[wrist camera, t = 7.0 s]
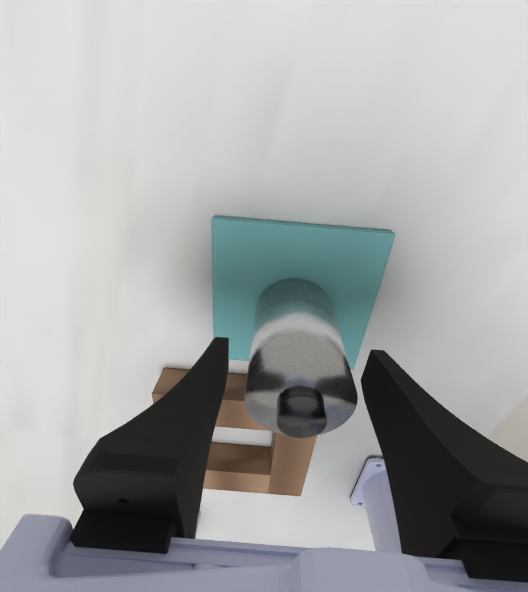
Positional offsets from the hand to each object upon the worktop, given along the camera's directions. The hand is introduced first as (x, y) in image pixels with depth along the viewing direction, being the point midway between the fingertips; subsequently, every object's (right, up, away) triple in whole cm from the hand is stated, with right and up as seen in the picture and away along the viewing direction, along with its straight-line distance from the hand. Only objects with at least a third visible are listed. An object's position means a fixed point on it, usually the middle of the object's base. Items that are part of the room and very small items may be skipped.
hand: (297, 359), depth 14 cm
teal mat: (0, +3, +5) cm, 6 cm away
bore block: (-4, -8, +11) cm, 14 cm away
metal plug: (0, +2, +5) cm, 5 cm away
